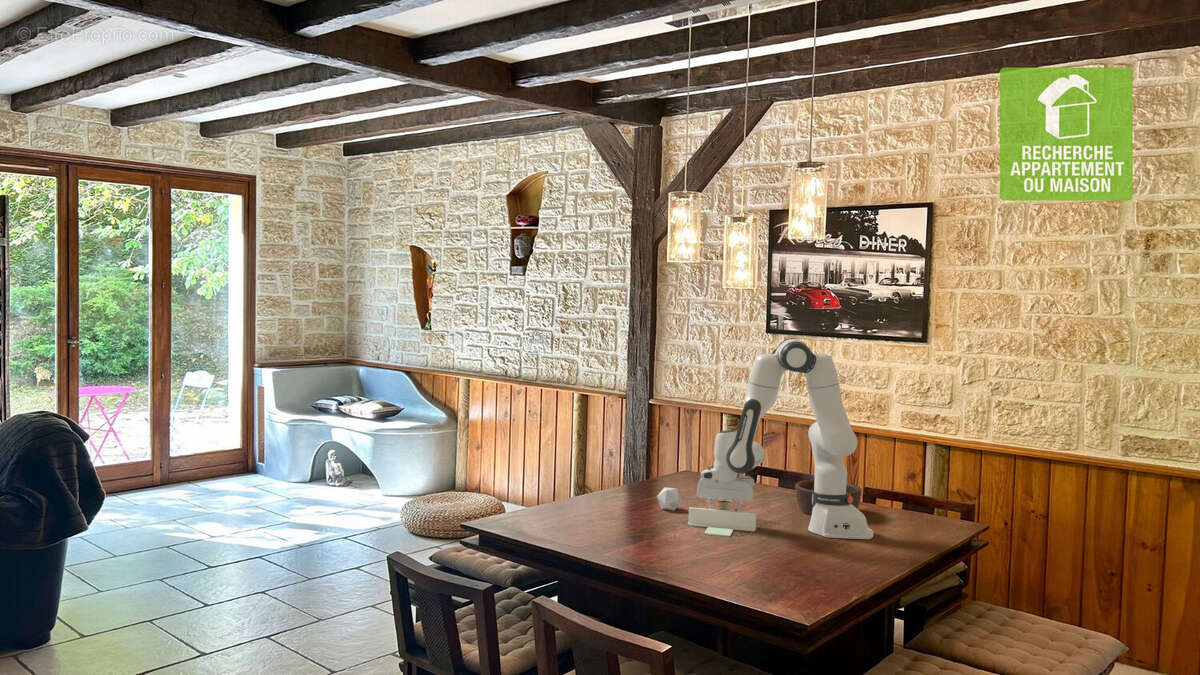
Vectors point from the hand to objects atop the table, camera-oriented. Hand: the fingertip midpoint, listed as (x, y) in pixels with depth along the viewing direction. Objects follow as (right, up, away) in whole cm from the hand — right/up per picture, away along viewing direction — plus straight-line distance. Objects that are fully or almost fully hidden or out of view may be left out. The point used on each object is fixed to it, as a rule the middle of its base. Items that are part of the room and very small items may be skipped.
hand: (723, 511), depth 330 cm
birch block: (0, -4, 0) cm, 4 cm away
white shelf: (-2, -4, -6) cm, 7 cm away
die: (-19, -3, +19) cm, 27 cm away
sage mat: (-4, -5, -13) cm, 14 cm away
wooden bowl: (+43, -5, +21) cm, 48 cm away
